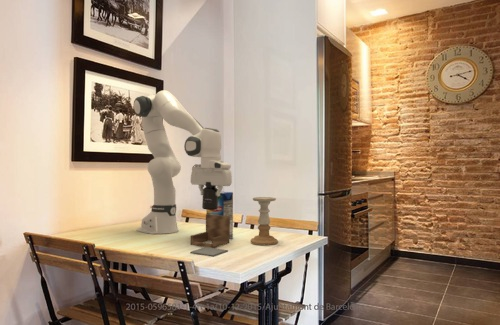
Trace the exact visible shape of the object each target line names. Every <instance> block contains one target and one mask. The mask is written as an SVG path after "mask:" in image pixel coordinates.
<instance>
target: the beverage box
mask: <svg viewBox="0 0 500 325" xmlns="http://www.w3.org/2000/svg"><path fill="white" fill-rule="evenodd" d="M205 210H206V209H205ZM205 212H206V214H210V215H222V216H230V240H232V239H233V238H234V237H233V236H234V235H233V232H234V227H233V226H234V222H233V221H234V192H233V191H221V192H220V196H218V208H217V209H215V210H206V211H205ZM206 214H205V215H206Z"/></svg>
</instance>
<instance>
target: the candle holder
mask: <svg viewBox="0 0 500 325" xmlns="http://www.w3.org/2000/svg"><path fill="white" fill-rule="evenodd" d="M252 200H253V201H254V202H257V203H258V205H259V206H260V207H259V208H260V209H258V212H259V217H258V221H257V223H258V226H257V229H258V235H255V236H254V237H252V238H251V239H250V243H251V244H252V245H255V246H273V245H277V244H279V243H278V239H277V238H275V237H274V236H273V235H271V234H270V229H271V226H270V224H271V219H270V216H269V213H270V209H269V205H270V204H271V202H275V201H276V200H277V198H276V197H272V196H271V197H270V196H258V197H257V196H256V197H253V198H252Z"/></svg>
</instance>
